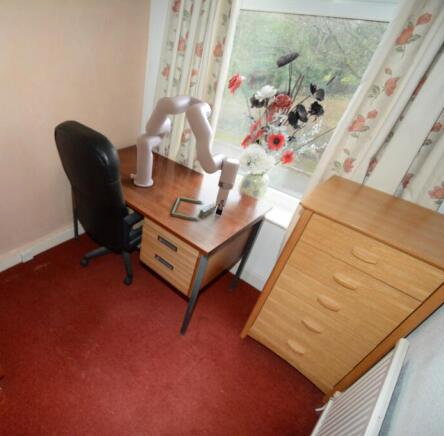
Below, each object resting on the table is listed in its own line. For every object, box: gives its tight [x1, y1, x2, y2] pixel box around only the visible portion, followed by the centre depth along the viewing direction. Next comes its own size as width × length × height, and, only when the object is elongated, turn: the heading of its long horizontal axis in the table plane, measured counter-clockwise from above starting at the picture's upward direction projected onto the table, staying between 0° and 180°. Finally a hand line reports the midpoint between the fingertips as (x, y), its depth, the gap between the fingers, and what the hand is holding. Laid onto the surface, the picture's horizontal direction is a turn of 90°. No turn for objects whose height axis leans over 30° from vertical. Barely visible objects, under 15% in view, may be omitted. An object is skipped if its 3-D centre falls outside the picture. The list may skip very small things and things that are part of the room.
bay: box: [170, 196, 203, 222], centre depth 151 cm, size 14×19×2 cm
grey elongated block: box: [198, 202, 218, 219], centre depth 147 cm, size 12×3×4 cm, turn 132°
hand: (218, 214), depth 146 cm, fingers closed
